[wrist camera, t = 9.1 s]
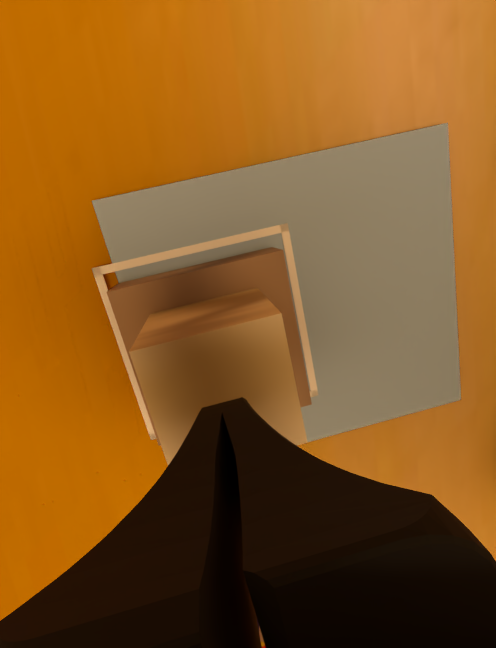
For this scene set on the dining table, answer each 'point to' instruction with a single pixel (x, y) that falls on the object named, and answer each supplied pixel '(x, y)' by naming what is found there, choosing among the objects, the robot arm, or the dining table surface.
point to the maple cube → (217, 365)
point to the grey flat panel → (323, 265)
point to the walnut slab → (208, 283)
